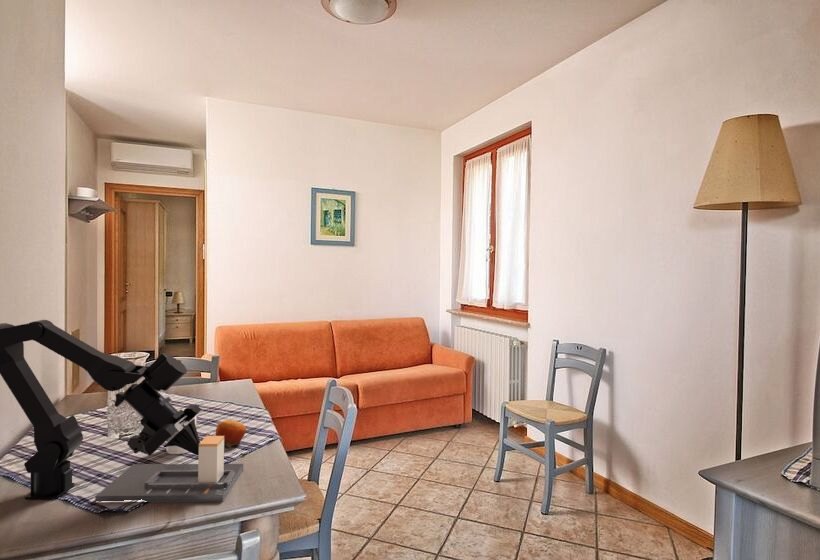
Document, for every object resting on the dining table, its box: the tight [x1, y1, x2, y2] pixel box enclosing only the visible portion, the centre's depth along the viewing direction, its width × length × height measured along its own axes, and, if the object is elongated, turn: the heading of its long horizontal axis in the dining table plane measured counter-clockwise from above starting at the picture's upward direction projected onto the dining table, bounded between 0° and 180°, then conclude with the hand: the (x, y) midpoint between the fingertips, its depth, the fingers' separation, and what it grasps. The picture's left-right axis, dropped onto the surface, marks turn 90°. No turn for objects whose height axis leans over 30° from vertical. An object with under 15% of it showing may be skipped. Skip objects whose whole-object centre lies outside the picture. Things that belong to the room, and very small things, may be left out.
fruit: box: [215, 419, 247, 450], centre depth 133 cm, size 8×8×8 cm
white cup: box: [165, 408, 198, 455], centre depth 128 cm, size 8×8×10 cm
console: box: [94, 463, 244, 504], centre depth 108 cm, size 26×16×2 cm, turn 95°
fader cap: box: [197, 435, 225, 483], centre depth 108 cm, size 4×5×9 cm
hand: (201, 453), depth 107 cm, fingers closed, pressing on fader cap
